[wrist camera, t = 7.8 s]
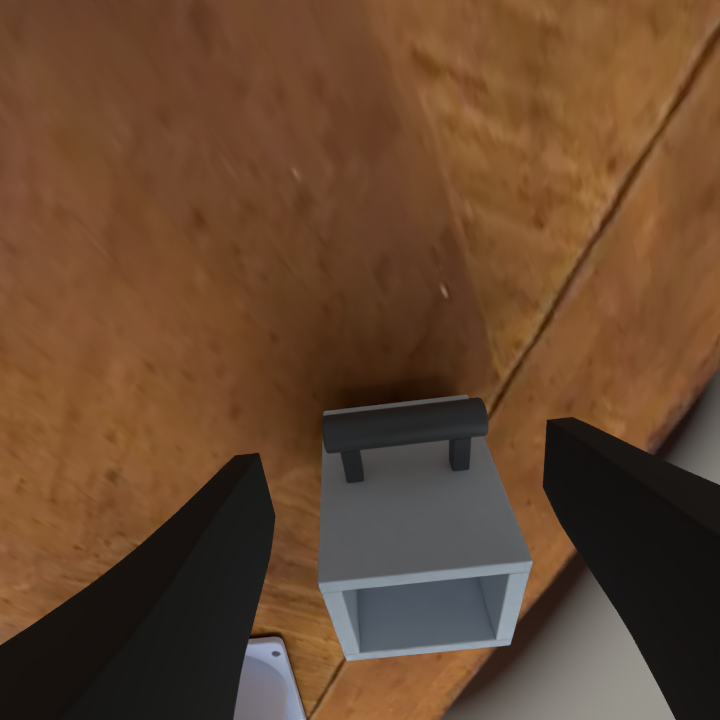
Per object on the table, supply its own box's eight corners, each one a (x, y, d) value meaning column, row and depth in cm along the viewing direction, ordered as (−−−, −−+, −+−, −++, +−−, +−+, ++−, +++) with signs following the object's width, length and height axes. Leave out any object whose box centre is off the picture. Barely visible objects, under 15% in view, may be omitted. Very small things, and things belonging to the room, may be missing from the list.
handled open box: (510, 645, 15) (549, 500, 10) (346, 661, 15) (296, 528, 10) (462, 483, 20) (470, 337, 15) (343, 497, 21) (311, 356, 15)
